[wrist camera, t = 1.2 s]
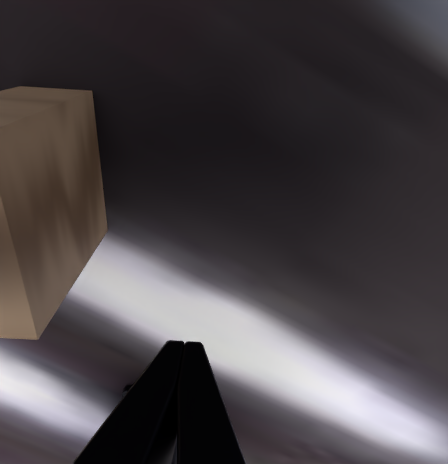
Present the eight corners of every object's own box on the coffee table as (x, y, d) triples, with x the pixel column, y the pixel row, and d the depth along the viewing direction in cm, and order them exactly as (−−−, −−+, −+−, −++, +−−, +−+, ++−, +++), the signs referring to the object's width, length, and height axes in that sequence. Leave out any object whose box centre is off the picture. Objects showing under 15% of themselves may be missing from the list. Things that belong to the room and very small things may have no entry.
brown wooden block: (107, 230, 22) (37, 339, 14) (48, 226, 22) (-56, 334, 14) (92, 90, 18) (-16, 133, 10) (20, 86, 18) (-144, 125, 10)
